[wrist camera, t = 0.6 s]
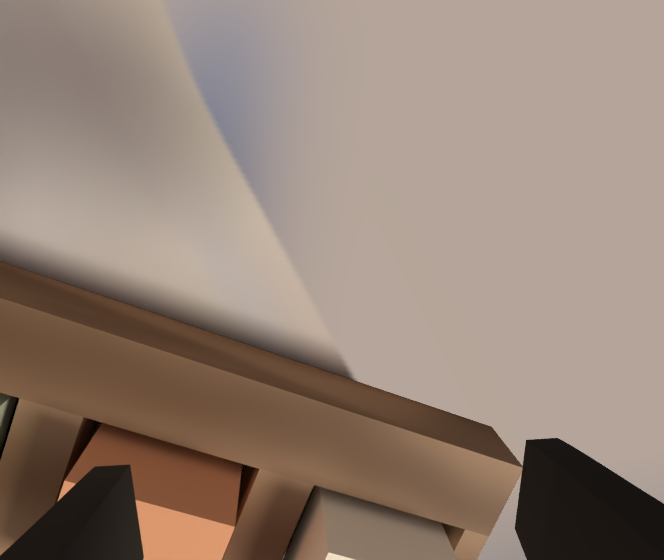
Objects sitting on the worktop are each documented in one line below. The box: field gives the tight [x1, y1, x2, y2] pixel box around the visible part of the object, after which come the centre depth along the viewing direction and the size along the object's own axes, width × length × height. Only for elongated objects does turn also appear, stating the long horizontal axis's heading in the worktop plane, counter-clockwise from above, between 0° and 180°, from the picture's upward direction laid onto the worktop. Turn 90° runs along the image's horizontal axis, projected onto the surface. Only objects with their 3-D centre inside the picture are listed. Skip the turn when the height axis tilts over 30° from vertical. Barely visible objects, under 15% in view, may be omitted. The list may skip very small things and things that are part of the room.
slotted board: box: [0, 262, 523, 560], centre depth 20 cm, size 12×24×3 cm, turn 68°
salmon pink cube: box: [58, 423, 242, 560], centre depth 18 cm, size 5×5×4 cm
